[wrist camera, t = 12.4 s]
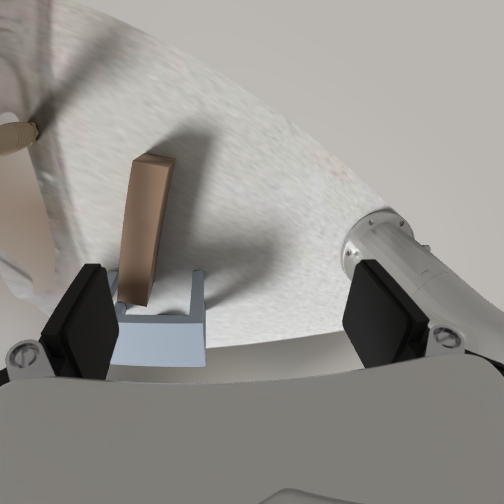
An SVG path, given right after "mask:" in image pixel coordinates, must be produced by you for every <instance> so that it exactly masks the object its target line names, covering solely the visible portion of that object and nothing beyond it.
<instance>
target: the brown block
mask: <svg viewBox="0 0 504 504" xmlns="http://www.w3.org/2000/svg"><path fill="white" fill-rule="evenodd" d="M174 163H175V159H173V158H168V157H163V156H158V155H153V154H147V153H144V154H142V155H141V156H139V157H138V158H136V159H135V160H133V162H132V168H131V174H130V180H129V186H128V192H127V199H126V206H125V214H124V222H123V231H122V240H121V251H120V263H119V277H118V296H117V301H122V302H126V303H131V304H135V305H140V306H145V307H147V304H148V300H149V296H150V293H151V289H152V286H153V281H154V274H155V267H156V260H157V253H158V247H159V241H160V235H161V229H162V223H163V218H164V212H165V207H166V202H167V197H168V191H169V187H170V182H171V177H172V172H173V168H174Z"/></svg>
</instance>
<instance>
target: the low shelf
mask: <svg viewBox="0 0 504 504" xmlns="http://www.w3.org/2000/svg"><path fill="white" fill-rule="evenodd" d="M107 277H108V282H109V286H110V291H111V295H112V297H113V295H114V293H115V291H116V288H117V286H118V277H119V271H109V273H108V274H107ZM114 308H115V312H116V316H117V320H118V324H119V336H118V339H117V342H116V345H115V349H114V352H113V355H112V358H111V362H110V364H120V365H137V366H168V367H169V366H170V367H203V366H204V367H206V307H205V303H204V271H193V279H192V290H191V302H190V314H189V315H125V313H126V306H125V303H115V306H114Z"/></svg>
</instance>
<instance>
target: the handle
mask: <svg viewBox="0 0 504 504" xmlns="http://www.w3.org/2000/svg"><path fill="white" fill-rule="evenodd" d="M38 134H39V131H38V130H37V128H36V124H35V123H34V122H29V123H27V122H12V123H6V124H3V125H0V157H1V156H5V155H9V154H11V153H14V152H17V151H19V150H21V149H23V148H25V147H27V146H28V145H31V144H33V143H35V141H36V137H37V135H38Z"/></svg>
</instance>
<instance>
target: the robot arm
mask: <svg viewBox="0 0 504 504" xmlns="http://www.w3.org/2000/svg"><path fill="white" fill-rule="evenodd" d="M341 262H342V267H343V270H344V272H345V274H346V275H347V277H348V278H349V279H350V280H351V281H352V283H351V287H350V291H349V295H348V300H347V304H346V307H345V311H344V315H343V320H342V323H343V328H344V330H345V331H346V333H347V335H348V337H349V339H350V340H351V343H352V344H353V346H354V348H355V350H356V352H357V354H358V356H359V358H360V359H361V361H362V363H363V365H364V367H365V369H359V370H352V371H346V372H340V373H332V374H325V375H318V376H308V377H300V378H290V379H279V380H267V381H252V382H234V383H203V384H202V383H197V384H171V383H139V382H123V381H109V380H105V379H106V375H107V372H108V369H109V365H110V362H111V358H112V355H113V352H114V349H115V345H116V342H117V339H118V336H119V324H118V320H117V316H116V312H115V308H114V304H113V300H112V295H111V291H110V286H109V282H108V277H107V272H106V269H105V268H104V267H101V265H100V264H85V265H84V266H83V267H82V269H81V270H80V272H79V273H78V275H77V276H76V277H75V279H74V280H73V282H72V283H71V285H70V287H69V288H68V290H67V291H66V293H65V294H64V296H63V297H62V299H61V301H60V302H59V304H58V305H57V307H56V309H55V310H54V312H53V314H52V315H51V317H50V319H49V320H48V322H47V324H46V325H45V327H44V329H43V331H42V332H41V337H40V339H39V341H38V342H37V341H35V340H24V341H20V342H18V343H17V344H15V345H14V346H13V347H12V348H10V350H9V351H8V353H7V355H6V359H5V360H6V361H5V362H6V368H5V369H3V370H1V371H0V504H504V312H503V311H501V310H500V309H498V308H497V307H495V306H494V305H493V304H491V303H490V302H489V301H487V300H486V299H484V298H483V297H482V296H481V295H480V294H479V293H477V292H476V291H475V290H474V289H473V288H471V287H470V286H469V285H468V284H467V283H466V282H465V281H463V280H462V279H461V278H460V277H459V276H458V275H457V274H455V273H454V272H453V271H452V270H451V269H449V268H448V267H447V266H446V265H445V264H444V263H442V262H441V261H440V260H439V259H438V258H437V257H435V256H434V255H433V254H432V253H430V247H429V245H420V244H419V243H418V242H417V241H416V240H414V239H413V234H412V230H411V228H410V226H409V224H408V223H407V221H406V220H405V219H403V218H402V217H401V216H399V215H397V214H396V213H393V212H389V211H381V212H375V213H373V214H370V215H368V216H366V217H364V218H363V219H361V220H360V221H359V222H358V223H357V224H356V225H355V226H354V227H353V228H352V229H351V230H350V232H349V234H348V235H347V237H346V239H345V241H344V244H343V247H342V252H341Z"/></svg>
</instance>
